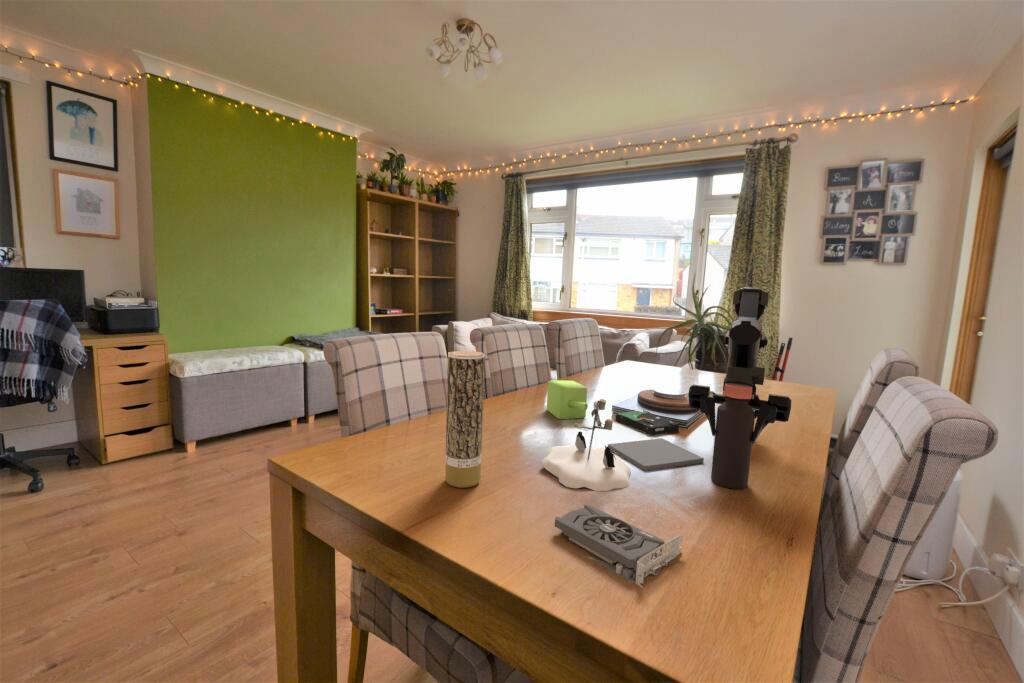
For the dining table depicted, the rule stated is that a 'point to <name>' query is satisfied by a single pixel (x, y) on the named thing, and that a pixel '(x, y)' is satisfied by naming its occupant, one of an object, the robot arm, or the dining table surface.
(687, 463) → the mat
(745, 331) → the robot arm
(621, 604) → the dining table surface
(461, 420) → the paper tube
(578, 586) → the dining table surface
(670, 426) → the disk drive
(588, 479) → the figurine
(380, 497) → the dining table surface
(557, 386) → the gearbox
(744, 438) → the brown bottle
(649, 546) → the graphics card
